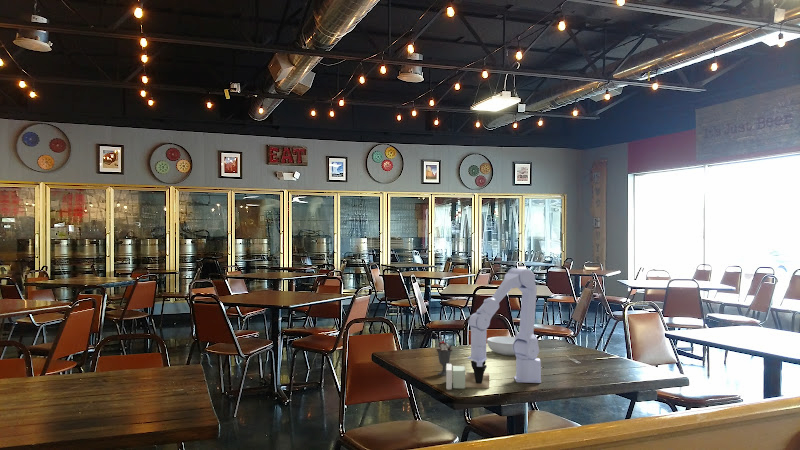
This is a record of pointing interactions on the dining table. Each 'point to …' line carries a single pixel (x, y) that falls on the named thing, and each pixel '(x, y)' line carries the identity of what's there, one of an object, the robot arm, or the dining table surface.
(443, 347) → the sundae
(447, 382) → the wall
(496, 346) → the serving bowl
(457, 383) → the block
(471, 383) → the peg
